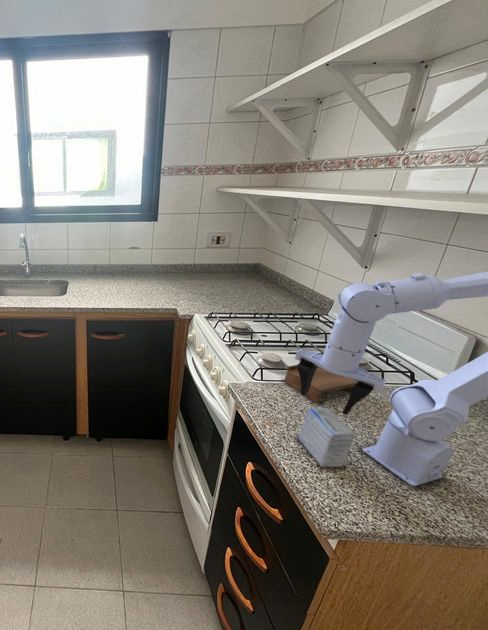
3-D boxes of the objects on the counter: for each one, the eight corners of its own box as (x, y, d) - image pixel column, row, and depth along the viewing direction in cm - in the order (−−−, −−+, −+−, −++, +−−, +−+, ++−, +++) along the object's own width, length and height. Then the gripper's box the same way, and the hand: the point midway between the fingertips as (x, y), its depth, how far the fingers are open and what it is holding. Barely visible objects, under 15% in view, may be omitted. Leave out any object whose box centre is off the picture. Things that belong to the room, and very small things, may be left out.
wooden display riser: (358, 394, 91) (364, 378, 89) (316, 403, 88) (321, 387, 86) (323, 373, 100) (328, 358, 98) (284, 381, 96) (288, 366, 94)
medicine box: (342, 467, 69) (357, 434, 66) (320, 467, 69) (333, 434, 66) (317, 439, 76) (329, 407, 73) (297, 438, 76) (307, 407, 73)
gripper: (401, 354, 63) (373, 413, 69) (312, 326, 74) (295, 379, 79) (389, 366, 59) (361, 428, 65) (298, 335, 70) (281, 390, 75)
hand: (324, 402), depth 72 cm, fingers open, 7 cm apart
